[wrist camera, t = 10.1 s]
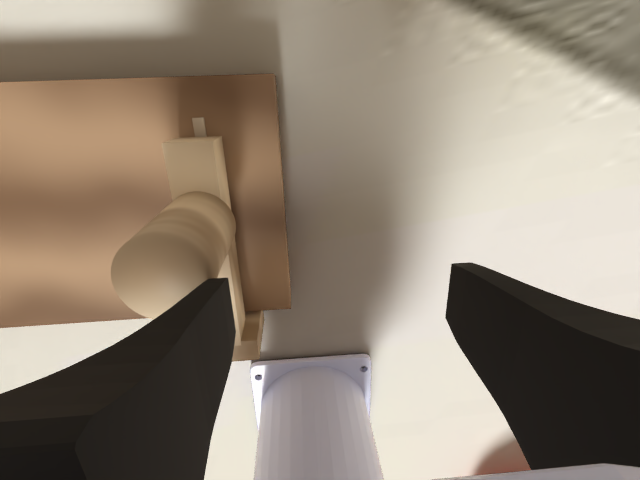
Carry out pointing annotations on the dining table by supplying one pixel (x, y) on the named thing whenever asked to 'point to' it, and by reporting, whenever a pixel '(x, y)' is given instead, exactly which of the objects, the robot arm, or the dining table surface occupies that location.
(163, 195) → the walnut board
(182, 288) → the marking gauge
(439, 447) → the dining table surface
